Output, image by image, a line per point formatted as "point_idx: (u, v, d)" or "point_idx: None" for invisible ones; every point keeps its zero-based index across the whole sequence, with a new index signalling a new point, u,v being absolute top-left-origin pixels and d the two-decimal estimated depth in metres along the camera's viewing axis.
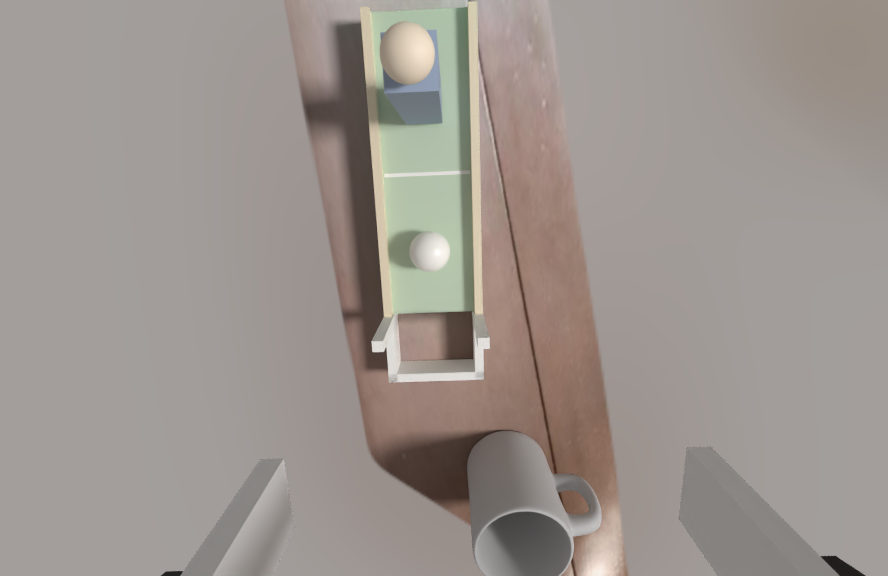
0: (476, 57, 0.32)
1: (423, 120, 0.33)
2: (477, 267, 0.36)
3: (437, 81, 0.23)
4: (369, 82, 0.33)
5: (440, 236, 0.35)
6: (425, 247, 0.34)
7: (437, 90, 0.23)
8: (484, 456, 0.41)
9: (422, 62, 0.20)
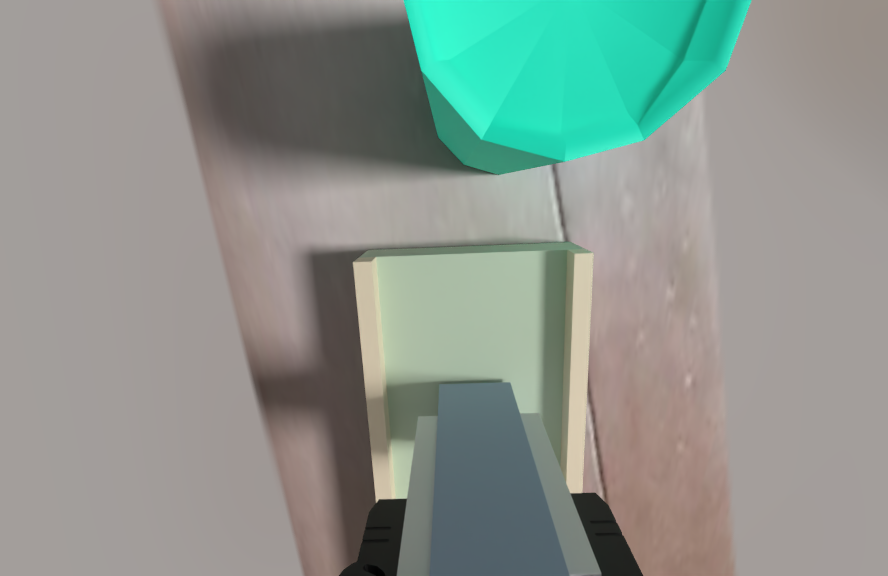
0: (585, 349, 0.16)
1: None
2: None
3: None
4: (372, 390, 0.17)
5: None
6: None
7: None
8: None
9: None
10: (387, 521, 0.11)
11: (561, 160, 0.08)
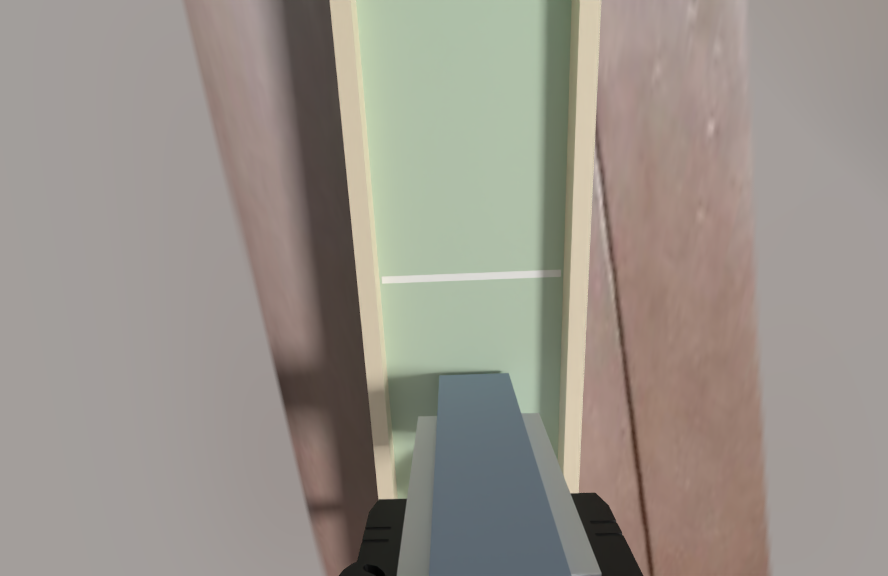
0: (595, 27, 0.14)
1: None
2: (571, 460, 0.18)
3: None
4: (346, 87, 0.14)
5: None
6: None
7: None
8: None
9: None
10: (387, 521, 0.11)
11: None
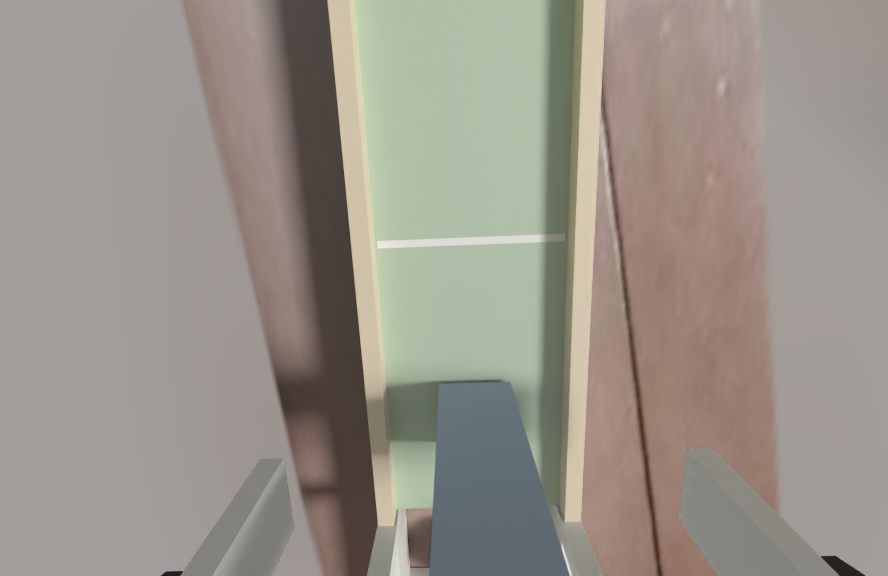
0: None
1: None
2: (575, 435, 0.17)
3: None
4: (339, 33, 0.14)
5: None
6: None
7: None
8: None
9: None
10: None
11: None
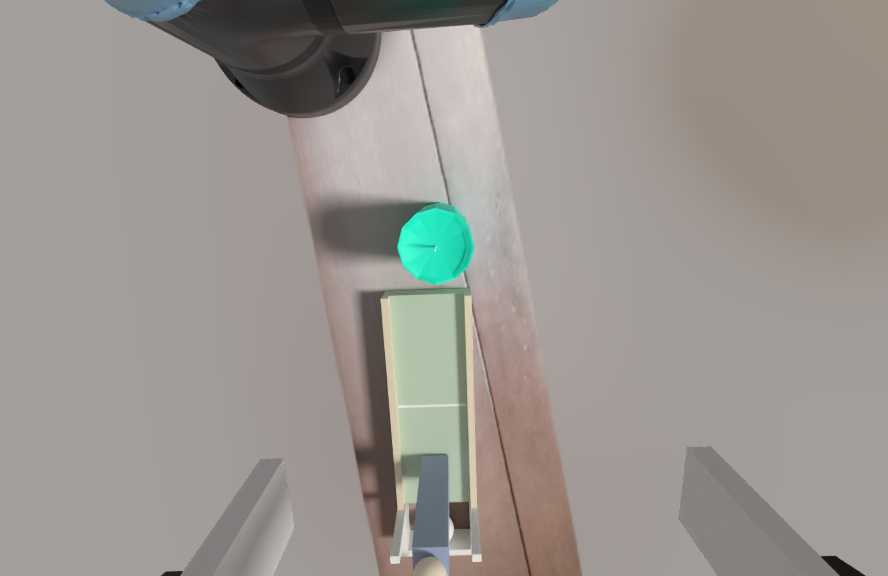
0: (471, 332, 0.42)
1: None
2: (472, 475, 0.46)
3: (448, 570, 0.35)
4: (387, 348, 0.42)
5: None
6: None
7: (448, 574, 0.35)
8: None
9: None
10: None
11: (435, 284, 0.33)
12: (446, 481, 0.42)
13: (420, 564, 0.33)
